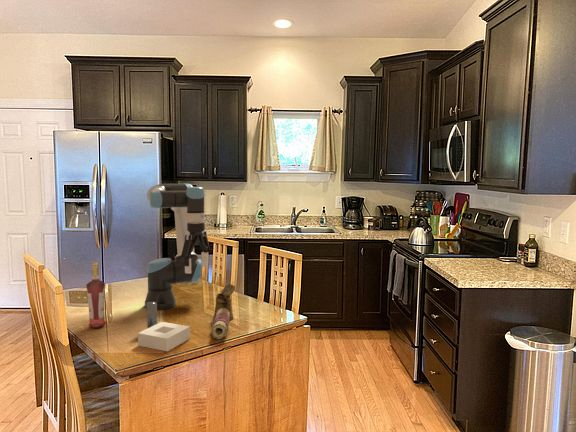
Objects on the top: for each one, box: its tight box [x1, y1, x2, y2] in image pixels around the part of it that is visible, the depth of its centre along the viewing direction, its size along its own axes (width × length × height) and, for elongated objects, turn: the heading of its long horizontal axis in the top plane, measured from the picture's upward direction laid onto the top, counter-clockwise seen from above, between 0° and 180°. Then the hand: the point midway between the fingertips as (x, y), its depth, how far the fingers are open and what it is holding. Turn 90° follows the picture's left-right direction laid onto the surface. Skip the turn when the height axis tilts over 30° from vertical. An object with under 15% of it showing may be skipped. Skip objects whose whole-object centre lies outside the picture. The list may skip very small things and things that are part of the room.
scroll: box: [210, 308, 231, 340], centre depth 183 cm, size 8×8×20 cm
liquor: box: [86, 262, 107, 329], centre depth 187 cm, size 7×7×28 cm
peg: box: [146, 301, 158, 329], centre depth 183 cm, size 4×4×12 cm
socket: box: [137, 321, 191, 352], centre depth 171 cm, size 14×14×5 cm
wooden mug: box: [212, 284, 236, 321], centre depth 197 cm, size 9×14×18 cm, turn 29°
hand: (196, 269), depth 192 cm, fingers open, 13 cm apart
